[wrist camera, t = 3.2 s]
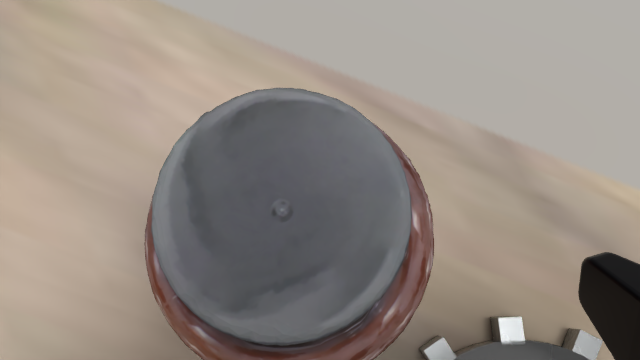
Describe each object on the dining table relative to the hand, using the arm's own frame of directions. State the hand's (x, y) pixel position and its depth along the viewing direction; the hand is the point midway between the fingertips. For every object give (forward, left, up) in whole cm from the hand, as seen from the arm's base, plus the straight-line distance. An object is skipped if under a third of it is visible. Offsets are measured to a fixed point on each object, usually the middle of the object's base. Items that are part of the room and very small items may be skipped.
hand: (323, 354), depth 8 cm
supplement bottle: (+2, 0, -10) cm, 11 cm away
